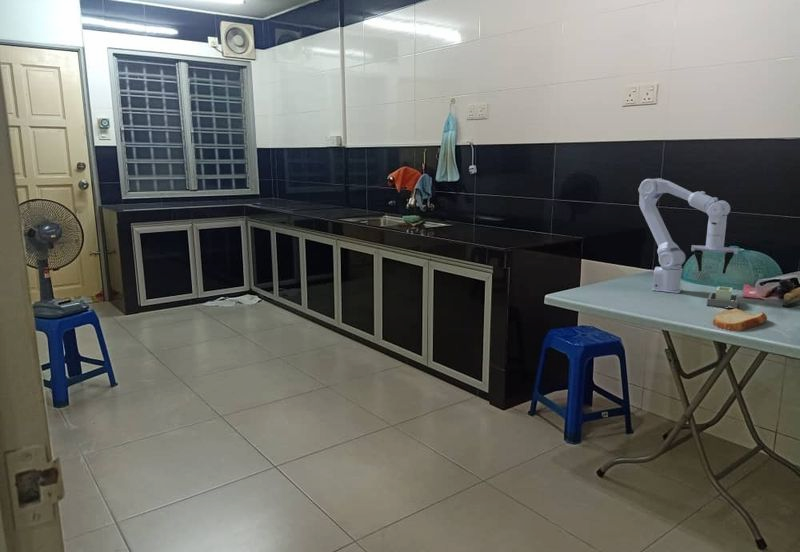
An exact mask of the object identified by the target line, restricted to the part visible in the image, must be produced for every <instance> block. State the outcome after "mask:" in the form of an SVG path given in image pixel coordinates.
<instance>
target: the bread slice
mask: <svg viewBox="0 0 800 552" xmlns="http://www.w3.org/2000/svg"><path fill="white" fill-rule="evenodd" d="M767 320H768V317H767V315H766V313H765V312H764V311H763V312H761V313H758V314H757V313H756V314H753V313H750V312H747V311H745V310H742V309H739V308H737V309H727V310H723V311H720V312H718V313H716V315H715V317H714V318H713V321H712V324H713V326H715V327H716V328H718V329H720V328H721V330H723V329H725V330H724V331H727V330H729V331H728V332H739V331H740V330H741V331H746V330H748V329H752V328H755V327H758V326H760V325H761V324H763V323H765V321H767Z"/></svg>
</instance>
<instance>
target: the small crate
mask: <svg viewBox="0 0 800 552" xmlns="http://www.w3.org/2000/svg"><path fill="white" fill-rule="evenodd" d="M715 293H716V298H715V299H717V300H726V301H731V296H732V295H733V287H729V286H717V288H716V290H715Z"/></svg>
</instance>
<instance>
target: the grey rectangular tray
mask: <svg viewBox="0 0 800 552" xmlns="http://www.w3.org/2000/svg"><path fill="white" fill-rule="evenodd" d="M715 298H716V292H710V293H709V296H708V297H707V302H706V306H707V307H712V308H713V307H714V308H720V309H721V308H722V309H726V308H725V307H728V306H731V307H733V309H738V305H739V299H740V295H739V294H738V295H737V294H732V296H731V300H734V301H726V300H717V299H715Z"/></svg>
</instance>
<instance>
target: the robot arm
mask: <svg viewBox="0 0 800 552" xmlns="http://www.w3.org/2000/svg"><path fill="white" fill-rule="evenodd" d="M637 189H638V190H637V191H638V193H639V196H638V197H639V200H638V204H639V205H638V206H639V208H640V211H641V213H642V215H643V216H644V219H645V222H646V223H647V226H648V227H649V229H650V232H651V233H652V236H653V238H654V240H655V242H656V245H657V247H658V248H657V250H656V251H657V252H656V253H657V254H658V262H659V265H660V266H655V267H654V270H653V278H652V288H651V290H652V291H656V292H657V291H658V292H664V293H674V294H680V293H681V291H682V287H681V281H682V280H681V278H682V269H683V266H682V265H683V264H684V263H685V262H686V259H687V258H686V254H685V252H684V251H683V250H682V249H681V248H680V246H679V245H678V244H677V243H675V242H674V241H673V239H672V236H671V235H670V232H669V231H668V229H667V227H666V225H665V223H664V220H663V218H662V216H661V213H660V211H659V210H658V207H657V205H656V204H657V202H658V200H659V199H660V198H661V197H662V195H663V194H667V193H668V194H670V195H673V196H675V197H677V198H680V199H683V200H685V201H687V202H688V204H689V205H688V206H690V207H692V208H695V209H697V210H699V211H701V212H703V213H705V214H706V215H707V216H708V221H707V229H706V238H705V245H695V244H692V245H691V249H690V250H691V252H694V257H695V259H696V263H697V266H698V272H702V269H703V266H702V265H703V264H702V263H703V256H704V252H706V253H718V254H719V253H720V254H724V263H723V269H722V274H726V272H727V267H728V265H729V263H730V262H731V260H732V258H733V257H734V255H738V252H739V248H738V247H727V246H725V239H726V238H725V237H726V229H727V220H728V219H727V218H728V215H729V214H730V212H731V205H730V204H729V203H728V202H727V201H726V200H723V199H722V200H721V199H720V200H719V198H718V197H715V196H714V197H712V196H710V195H708V194H706V191H703V190H701V191H695V192H692V191H690V190H688V189H686V188H685V187H682V186H680V185H678V184H676V183H674V182H672V181H670V180H667V179H664V178H659V177H657V178H646V179H644V180H642V181H641V183H640V184H639V187H638V188H637Z"/></svg>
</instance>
